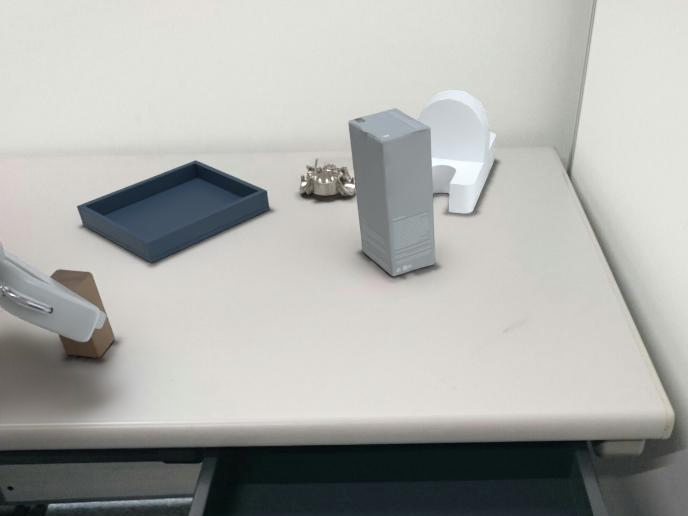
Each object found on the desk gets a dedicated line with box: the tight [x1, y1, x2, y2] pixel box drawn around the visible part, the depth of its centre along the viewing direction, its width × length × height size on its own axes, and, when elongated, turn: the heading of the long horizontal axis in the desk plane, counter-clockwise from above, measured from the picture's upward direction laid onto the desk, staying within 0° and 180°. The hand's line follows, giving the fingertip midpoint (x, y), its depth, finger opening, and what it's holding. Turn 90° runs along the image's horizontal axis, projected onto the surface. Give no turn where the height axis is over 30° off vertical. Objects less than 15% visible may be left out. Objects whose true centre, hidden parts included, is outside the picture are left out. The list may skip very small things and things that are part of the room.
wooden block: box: [49, 268, 115, 359], centre depth 76 cm, size 4×4×8 cm
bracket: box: [416, 89, 497, 215], centre depth 102 cm, size 19×10×11 cm, turn 166°
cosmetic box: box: [348, 107, 436, 277], centre depth 85 cm, size 8×7×16 cm
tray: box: [76, 159, 271, 264], centre depth 98 cm, size 16×20×3 cm
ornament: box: [298, 163, 356, 197], centre depth 102 cm, size 8×7×4 cm
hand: (82, 308), depth 76 cm, fingers closed on wooden block, 5 cm apart
